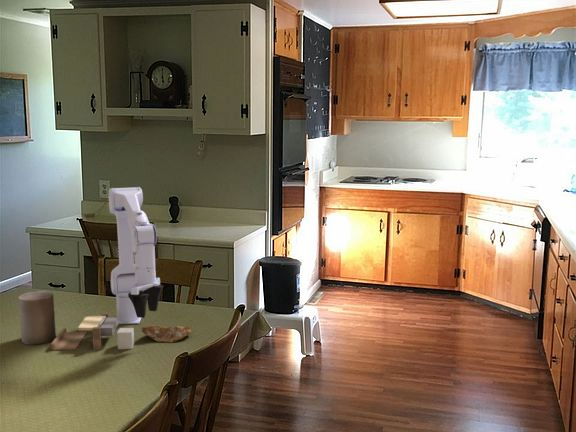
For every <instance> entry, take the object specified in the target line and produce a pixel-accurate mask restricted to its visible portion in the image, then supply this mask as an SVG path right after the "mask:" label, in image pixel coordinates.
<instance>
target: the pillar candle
mask: <svg viewBox="0 0 576 432" xmlns="http://www.w3.org/2000/svg"><path fill="white" fill-rule="evenodd" d="M54 301H55V300H54V293H53V292H52V291H48V290H36V291H29V292H26V293H22V294H20V295H19V296H18V304H19V305H18V306H19V319H20V332H21V333H20V334H21V341H22V343H23V344H25V345H41V344H45V343H49V342H53V341H54V339H55V338H56V337H57V334H56V318H55V302H54Z"/></svg>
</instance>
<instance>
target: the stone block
mask: <svg viewBox="0 0 576 432" xmlns="http://www.w3.org/2000/svg"><path fill="white" fill-rule="evenodd" d="M134 330H135V329H134V327H120V328H119V329H118V330H117V333H116V334H117V350H132V349H133V348H134V345H135V333H134V332H135V331H134Z"/></svg>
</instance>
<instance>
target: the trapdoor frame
mask: <svg viewBox="0 0 576 432" xmlns="http://www.w3.org/2000/svg"><path fill="white" fill-rule="evenodd" d="M100 316H106V318H107V317H110V313H109V312H102V313H101V315H100ZM106 318H105V319H106ZM104 321H105V320H104ZM103 323H104V322H103ZM103 323H102V324H103ZM91 331H92V348H93V349H92V350H101V349H102V336H101V327H93V328H92V330H91ZM86 334H87V331H68V330H67V327H63V328H62V329H61V330H60V332H59V333H58V334H57V335H56V338H55V339H54V340H53V341H51V343H50V351H76V349H77V348H78V346H79V345H80V343H81V342H82V341H83V339H84V337H85V336H86Z"/></svg>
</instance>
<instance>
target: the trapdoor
mask: <svg viewBox="0 0 576 432" xmlns="http://www.w3.org/2000/svg"><path fill="white" fill-rule="evenodd" d="M105 318H106V316H102V315H86V316H85V317H84V318H83V320H82V321H81V323H80V324H79V326H77V332H86V331H92V328H93V327H101V337H113V336H114V333H115V332H116V330H117V327H119V324H118V317H117V316H116V317H115V316H114V317H110V316H109V317H107V318H106V319H105ZM104 320H105V321H104ZM103 322H104V323H103ZM102 323H103V324H102Z"/></svg>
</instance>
